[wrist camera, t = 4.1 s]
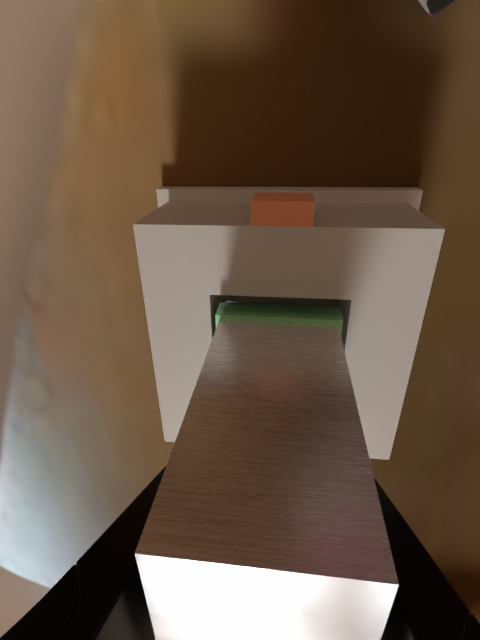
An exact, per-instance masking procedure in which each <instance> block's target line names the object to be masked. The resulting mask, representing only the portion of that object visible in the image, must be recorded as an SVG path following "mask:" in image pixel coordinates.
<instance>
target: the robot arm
mask: <svg viewBox="0 0 480 640" xmlns="http://www.w3.org/2000/svg"><path fill="white" fill-rule="evenodd" d="M166 466H167V465H166ZM166 466H165V467H164V468H163V470H162V471H161V472H160V473H159V474H158V475H157V476H156V477H155V478H154V479H153V480H152V481H151V482H150V484H149V485H148V486H147V487H146V488H145V489H144V490H143V491H142V492H141V493H140V494H139V495H138V496H137V498H136V499H135V500H134V501H133V502H132V503H131V504H130V505H129V506H128V507H127V508H126V509H125V510H124V512H123V513H122V514H121V515H120V516H119V517H118V518H117V519H116V520H115V521H114V522H113V523H112V524H111V526H110V527H109V528H108V529H107V530H106V531H105V532H104V533H103V534H102V535H101V536H100V537H99V538H98V540H97V541H96V542H95V543H94V544H93V545H92V546H91V547H90V548H89V549H88V550H87V551H86V552H85V554H84V555H83V556H82V557H81V558H80V559H79V560H78V561H77V563H76V565H73V566H72V567H71V568H70V570H69V571H68V572H67V573H66V574H65V575H64V576H63V577H62V578H61V579H60V580H59V581H58V582H57V583H56V584H55V585H54V586H53V587H52V589H51V590H50V591H49V592H48V593H47V594H46V595H45V596H44V597H43V598H42V599H41V600H40V601H39V602H38V603H37V604H36V605H35V606H34V607H33V608H31V610H30V611H28V612H27V613H26V614H25V615H24V616H23V617H22V618H21V619H20V620H19V621H18V622H17V623H16V624H15V625H14V626H12V627H11V628H10V629H9V630H8V631H7V632H6V633H5V634H4V635H3V636H2V637H1V638H0V640H155V634H154V630H153V626H152V622H151V618H150V614H149V610H148V606H147V602H146V598H145V594H144V590H143V586H142V582H141V577H140V573H139V569H138V565H137V561H136V557H135V551H136V548H137V546H138V543H139V540H140V537H141V535H142V532H143V529H144V526H145V524H146V521H147V518H148V515H149V513H150V510H151V507H152V504H153V501H154V499H155V496H156V493H157V490H158V488H159V485H160V482H161V479H162V477H163V474H164V471H165V468H166ZM374 480H375V478H374ZM375 484H376V489H377V493H378V497H379V501H380V506H381V510H382V514H383V518H384V523H385V527H386V531H387V536H388V540H389V544H390V548H391V553H392V557H393V561H394V566H395V570H396V574H397V578H398V583H399V586H398V589H397V592H396V595H395V598H394V601H393V604H392V607H391V610H390V613H389V616H388V619H387V622H386V625H385V628H384V631H383V634H382V637H381V640H480V624H479V622H478V621H477V619H476V618H475V617H474V615H470V610H469V608H468V607H467V606H466V604H465V603H464V602H463V600H462V599H461V597H460V596H459V595H458V593H457V592H456V590H455V589H454V588H453V586H452V585H451V584H450V582H449V581H448V579H447V578H446V577H445V575H444V574H443V572H442V571H441V570H440V568H439V567H438V566H437V564H436V563H435V561H434V560H433V559H432V557H431V556H430V554H429V553H428V552H427V550H426V549H425V548H424V546H423V545H422V543H421V542H420V541H419V539H418V538H417V536H416V535H415V534H414V532H413V531H412V529H411V528H410V527H409V525H408V524H407V523H406V521H405V520H404V518H403V517H402V516H401V514H400V513H399V511H398V510H397V509H396V507H395V506H394V505H393V503H392V502H391V500H390V499H389V498H388V496H387V495H386V493H385V492H384V491H383V489H382V488H381V487H380V485H379V484H378V482H377V481H376V480H375Z"/></svg>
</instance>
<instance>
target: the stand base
mask: <svg viewBox="0 0 480 640" xmlns="http://www.w3.org/2000/svg"><path fill="white" fill-rule="evenodd" d="M156 192H157V201H158V208H157V209H156V210H154V211H153V212H151V213H150V214H148V215H147V216H145V217H143V218H142V219H140V220H139V221H137V222H136V223H134V224H133V228H134V235H135V242H136V249H137V255H138V262H139V269H140V276H141V283H142V289H143V296H144V303H145V310H146V317H147V323H148V330H149V337H150V344H151V350H152V357H153V364H154V371H155V378H156V384H157V391H158V398H159V405H160V412H161V418H162V425H163V432H164V439H165V441H167V442H175V441H176V438H177V435H178V432H179V430H180V427H181V424H182V421H183V419H184V416H185V413H186V410H187V408H188V405H189V402H190V399H191V397H192V394H193V391H194V388H195V386H196V383H197V380H198V377H199V375H200V372H201V369H202V366H203V364H204V361H205V358H206V355H207V352H208V350H209V347H210V344H211V341H212V339H213V336H214V333H215V330H216V321H215V314H216V312H217V309H218V306H219V304H220V303H226V301H247V302H273V303H300V304H326V305H334V307H340V310H341V314H342V318H343V325H342V333H341V339H342V343H343V347H344V352H345V356H346V360H347V365H348V369H349V373H350V377H351V382H352V386H353V390H354V394H355V399H356V403H357V407H358V412H359V416H360V420H361V424H362V429H363V433H364V437H365V441H366V446H367V450H368V454H369V458H374V459H386V460H389V458H390V454H391V450H392V446H393V442H394V438H395V434H396V430H397V425H398V421H399V417H400V413H401V409H402V405H403V401H404V396H405V392H406V388H407V384H408V380H409V376H410V372H411V368H412V363H413V359H414V355H415V351H416V347H417V343H418V339H419V334H420V330H421V326H422V322H423V318H424V314H425V310H426V306H427V301H428V297H429V293H430V289H431V285H432V281H433V277H434V273H435V268H436V264H437V260H438V256H439V252H440V248H441V244H442V239H443V235H444V231H445V229H444V228H443V227H441V226H440V225H439V224H437V223H436V222H434V221H433V220H431V219H430V218H428V217H427V216H426V215H424V214H423V213H421V212H420V211H419V208H420V203H421V198H422V193H423V190H422V189H420V188H418V187H185V186H162V187H160V188H158V189H156Z"/></svg>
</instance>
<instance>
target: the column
mask: <svg viewBox="0 0 480 640" xmlns="http://www.w3.org/2000/svg"><path fill="white" fill-rule="evenodd" d="M215 321H216V330H215V333H214V336H213V339H212V341H211V344H210V347H209V350H208V352H207V355H206V358H205V361H204V364H203V366H202V369H201V372H200V375H199V377H198V380H197V383H196V386H195V388H194V391H193V394H192V397H191V399H190V402H189V405H188V408H187V410H186V413H185V416H184V419H183V421H182V424H181V427H180V430H179V432H178V435H177V438H176V441H175V444H174V446H173V449H172V452H171V455H170V457H169V460H168V463H167V466H166V468H165V471H164V474H163V477H162V479H161V482H160V485H159V488H158V490H157V493H156V496H155V499H154V501H153V504H152V507H151V510H150V513H149V515H148V518H147V521H146V524H145V526H144V529H143V532H142V535H141V537H140V540H139V543H138V546H137V548H136V551H135V557H136V561H137V565H138V569H139V573H140V577H141V582H142V586H143V590H144V594H145V598H146V602H147V606H148V610H149V614H150V618H151V622H152V626H153V630H154V634H155V639H156V640H381V637H382V634H383V631H384V628H385V625H386V622H387V619H388V616H389V613H390V610H391V607H392V604H393V601H394V598H395V595H396V592H397V589H398V586H399V583H398V578H397V574H396V570H395V566H394V561H393V557H392V553H391V548H390V544H389V540H388V536H387V531H386V527H385V523H384V518H383V514H382V510H381V506H380V501H379V497H378V493H377V489H376V484H375V480H374V476H373V471H372V467H371V463H370V459H369V454H368V450H367V446H366V441H365V437H364V433H363V429H362V424H361V420H360V416H359V412H358V407H357V403H356V399H355V394H354V390H353V386H352V382H351V377H350V373H349V369H348V365H347V360H346V356H345V352H344V347H343V343H342V339H341V333H342V325H343V318H342V314H341V310H340V307H334V305H326V304H300V303H273V302H247V301H226V303H220V304H219V306H218V309H217V312H216V314H215Z"/></svg>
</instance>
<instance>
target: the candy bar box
mask: <svg viewBox="0 0 480 640" xmlns="http://www.w3.org/2000/svg"><path fill="white" fill-rule="evenodd" d="M417 1H418V2H419V3H420V5H421V6H422V7H423V9H424V10H425V11H426V12H427V14H428V15H429V16H431V17H433V16H434V15H436V14H437V13H438V12H440V11H441V10H442V9H443V8H445V7H446V6H448V5H449V4H450V3H452V2H453V1H454V0H417Z"/></svg>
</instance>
